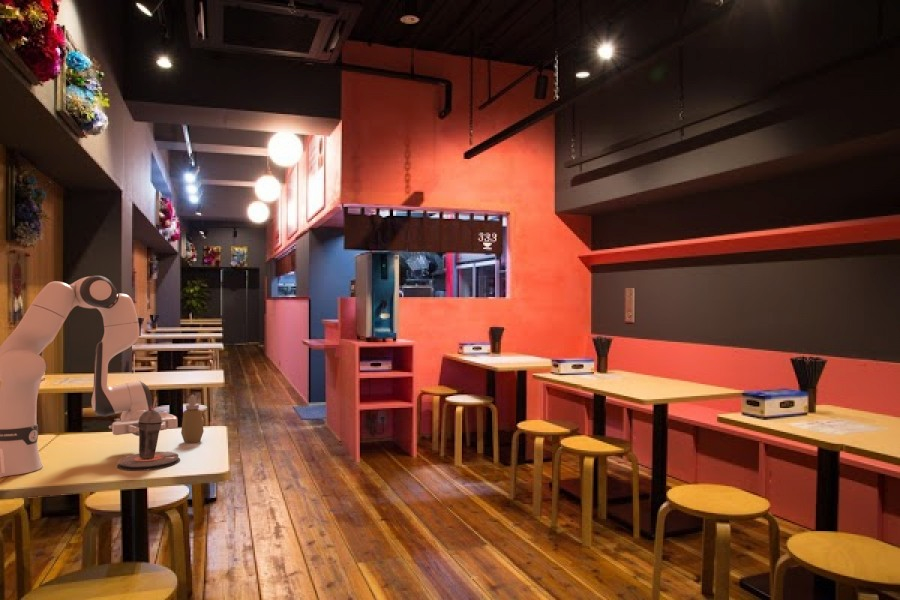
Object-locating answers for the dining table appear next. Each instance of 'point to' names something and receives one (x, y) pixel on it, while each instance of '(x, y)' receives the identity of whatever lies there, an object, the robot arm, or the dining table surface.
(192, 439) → the squeeze bottle
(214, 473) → the dining table surface
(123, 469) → the base
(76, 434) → the dining table surface
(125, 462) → the dark round disc
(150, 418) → the beverage cup
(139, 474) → the dining table surface
